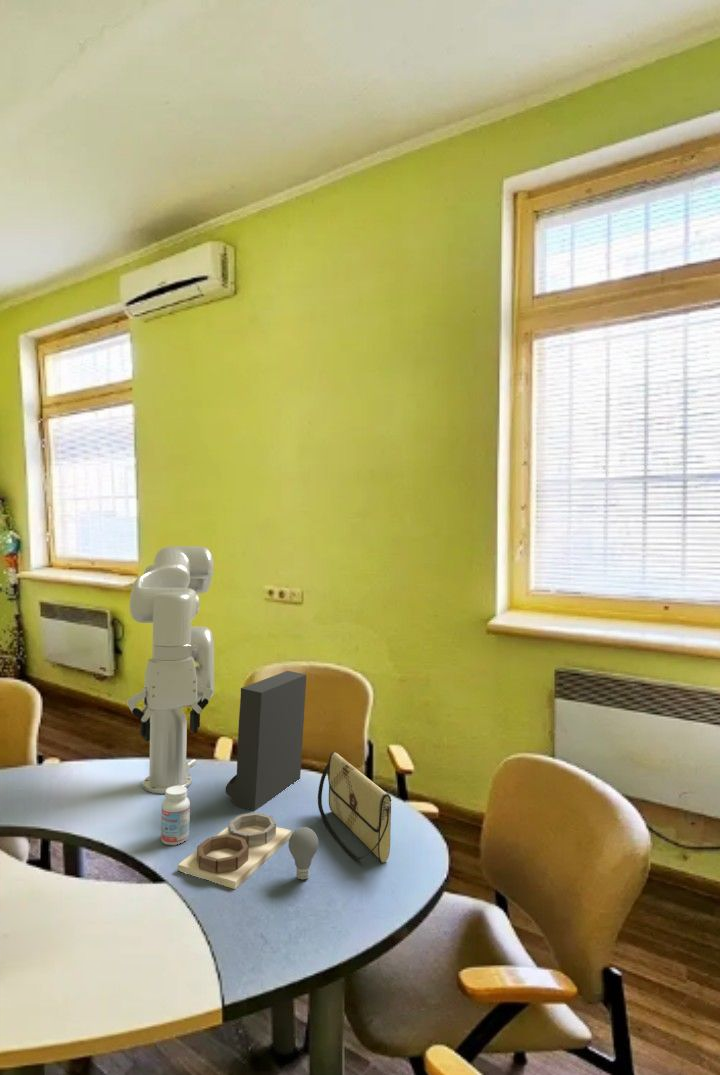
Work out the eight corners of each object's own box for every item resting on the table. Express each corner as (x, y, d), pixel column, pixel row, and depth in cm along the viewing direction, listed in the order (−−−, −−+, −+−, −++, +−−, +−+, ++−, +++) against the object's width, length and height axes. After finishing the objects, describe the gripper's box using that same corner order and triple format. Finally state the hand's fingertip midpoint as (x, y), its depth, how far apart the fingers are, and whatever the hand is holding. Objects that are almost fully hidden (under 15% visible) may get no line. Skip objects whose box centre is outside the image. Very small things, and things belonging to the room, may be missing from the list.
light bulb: (304, 866, 127) (305, 818, 127) (323, 878, 123) (324, 829, 123) (281, 877, 123) (282, 828, 123) (300, 890, 119) (301, 839, 118)
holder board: (239, 823, 144) (239, 807, 144) (291, 836, 139) (291, 819, 139) (177, 871, 124) (178, 852, 124) (235, 889, 119) (235, 869, 118)
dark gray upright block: (271, 772, 174) (273, 668, 174) (304, 780, 169) (306, 673, 169) (223, 802, 155) (225, 685, 155) (259, 812, 150) (261, 691, 150)
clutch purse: (310, 813, 151) (311, 753, 150) (335, 807, 154) (336, 748, 154) (366, 875, 124) (368, 803, 124) (395, 867, 128) (397, 796, 127)
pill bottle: (155, 841, 135) (155, 791, 135) (175, 829, 141) (175, 781, 141) (175, 849, 133) (176, 798, 132) (195, 836, 138) (195, 787, 138)
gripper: (207, 645, 133) (205, 723, 133) (123, 652, 123) (122, 736, 124) (218, 651, 126) (217, 733, 126) (131, 660, 117) (130, 748, 117)
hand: (170, 735), depth 125 cm, fingers open, 9 cm apart
